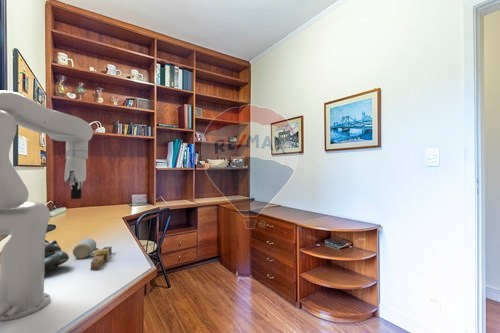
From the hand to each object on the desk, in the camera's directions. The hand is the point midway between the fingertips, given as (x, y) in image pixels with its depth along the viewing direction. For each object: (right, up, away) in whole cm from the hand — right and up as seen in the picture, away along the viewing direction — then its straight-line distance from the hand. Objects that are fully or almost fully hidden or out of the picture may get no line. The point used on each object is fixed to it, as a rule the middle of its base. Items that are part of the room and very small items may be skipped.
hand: (76, 198), depth 98 cm
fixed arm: (+5, -29, +7) cm, 30 cm away
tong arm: (+8, -29, +5) cm, 31 cm away
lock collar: (+6, -29, +7) cm, 31 cm away
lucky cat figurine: (-10, -29, -5) cm, 31 cm away
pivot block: (+3, -29, +16) cm, 33 cm away
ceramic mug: (-5, -30, +14) cm, 33 cm away
